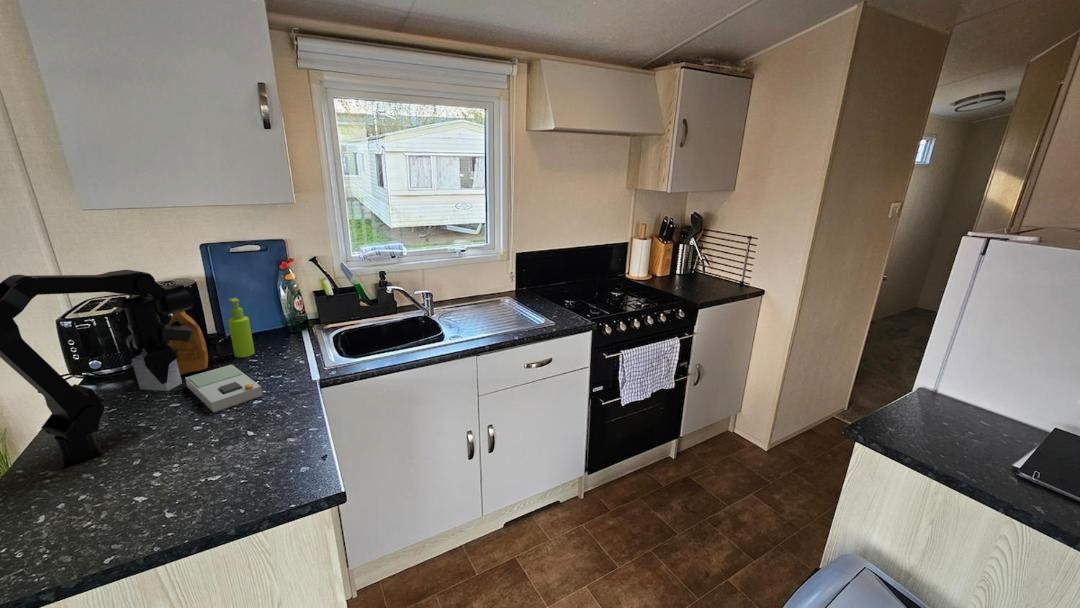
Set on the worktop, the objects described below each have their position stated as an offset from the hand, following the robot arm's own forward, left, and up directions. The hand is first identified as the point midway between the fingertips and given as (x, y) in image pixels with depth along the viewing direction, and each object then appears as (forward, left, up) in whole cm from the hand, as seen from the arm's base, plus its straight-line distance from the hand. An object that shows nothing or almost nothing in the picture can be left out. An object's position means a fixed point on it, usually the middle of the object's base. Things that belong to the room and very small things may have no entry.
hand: (159, 377), depth 111 cm
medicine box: (0, 0, -3) cm, 3 cm away
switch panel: (+4, -14, -11) cm, 18 cm away
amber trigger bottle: (+29, -13, -11) cm, 34 cm away
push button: (-2, -14, -11) cm, 18 cm away
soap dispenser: (+29, -28, -11) cm, 42 cm away
